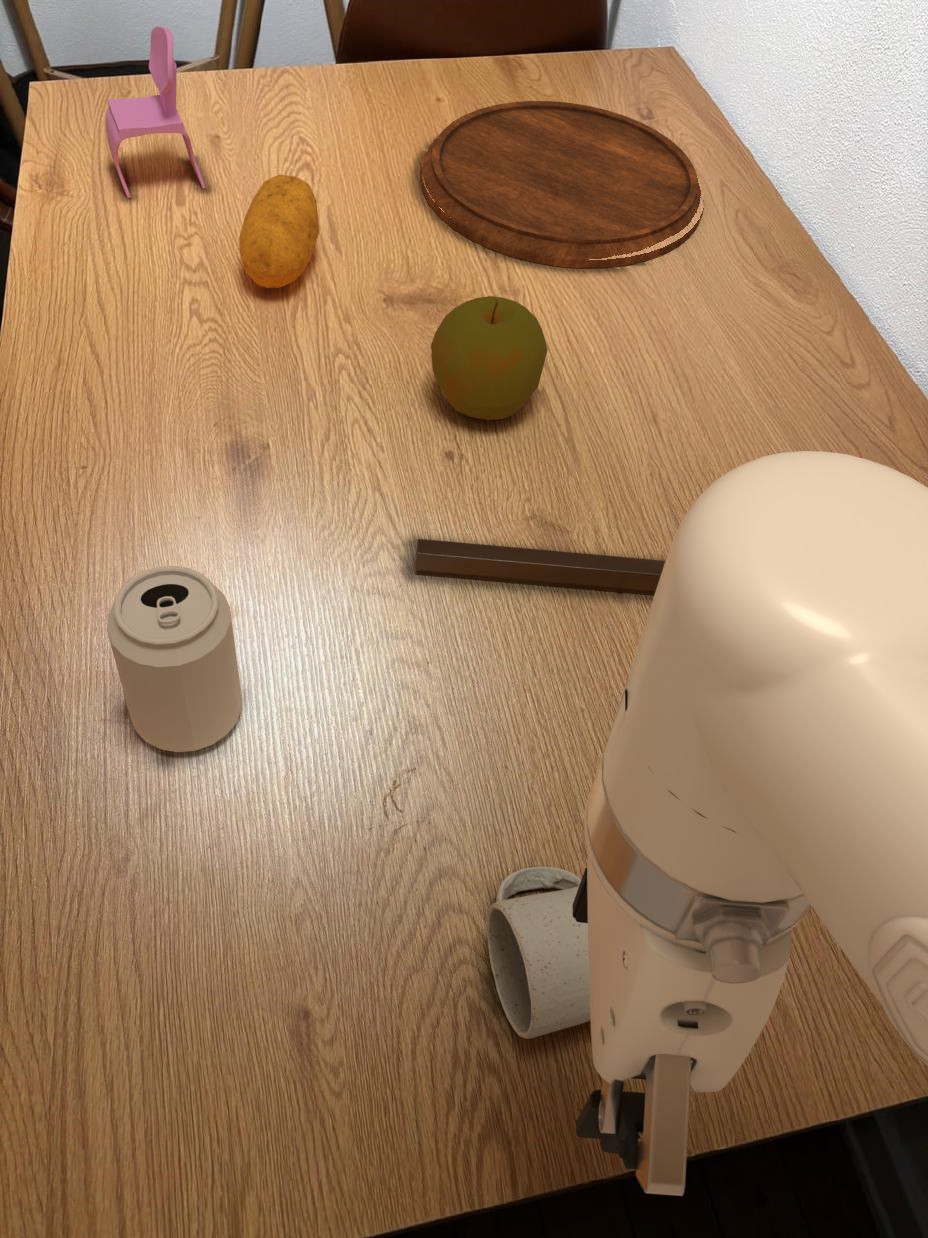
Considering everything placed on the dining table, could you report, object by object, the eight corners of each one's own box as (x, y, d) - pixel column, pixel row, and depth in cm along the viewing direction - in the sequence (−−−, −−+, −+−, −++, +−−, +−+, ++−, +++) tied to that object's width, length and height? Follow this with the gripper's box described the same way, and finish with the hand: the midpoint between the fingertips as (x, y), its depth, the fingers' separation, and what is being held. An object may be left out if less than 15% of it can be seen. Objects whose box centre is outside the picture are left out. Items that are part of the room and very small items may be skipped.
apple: (521, 364, 104) (537, 261, 96) (551, 433, 98) (570, 329, 90) (417, 374, 102) (423, 269, 93) (441, 444, 96) (450, 339, 88)
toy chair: (110, 163, 120) (84, 18, 109) (191, 154, 123) (174, 11, 111) (124, 203, 116) (99, 56, 104) (208, 193, 118) (193, 48, 107)
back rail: (669, 596, 87) (676, 576, 85) (414, 574, 86) (416, 553, 84) (666, 566, 89) (673, 546, 87) (417, 544, 88) (419, 523, 86)
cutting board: (624, 305, 111) (629, 283, 109) (363, 196, 120) (363, 173, 118) (746, 177, 130) (752, 156, 128) (511, 91, 139) (514, 70, 137)
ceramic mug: (649, 1020, 65) (678, 967, 60) (519, 1060, 63) (536, 1009, 57) (582, 864, 72) (603, 801, 66) (462, 895, 70) (472, 834, 64)
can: (232, 660, 80) (217, 546, 70) (252, 745, 75) (239, 635, 66) (125, 681, 78) (95, 567, 68) (139, 770, 73) (109, 660, 64)
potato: (330, 230, 116) (329, 166, 110) (304, 311, 106) (301, 245, 101) (261, 221, 116) (257, 157, 110) (229, 302, 106) (223, 235, 101)
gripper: (891, 1128, 28) (717, 1257, 42) (794, 608, 39) (681, 841, 53) (599, 1106, 28) (518, 1243, 41) (584, 589, 39) (524, 829, 52)
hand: (610, 1017), depth 47 cm, fingers open, 8 cm apart
